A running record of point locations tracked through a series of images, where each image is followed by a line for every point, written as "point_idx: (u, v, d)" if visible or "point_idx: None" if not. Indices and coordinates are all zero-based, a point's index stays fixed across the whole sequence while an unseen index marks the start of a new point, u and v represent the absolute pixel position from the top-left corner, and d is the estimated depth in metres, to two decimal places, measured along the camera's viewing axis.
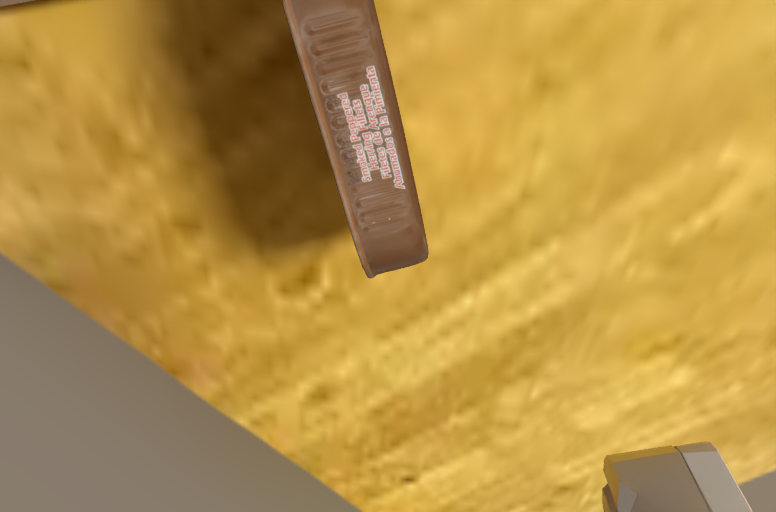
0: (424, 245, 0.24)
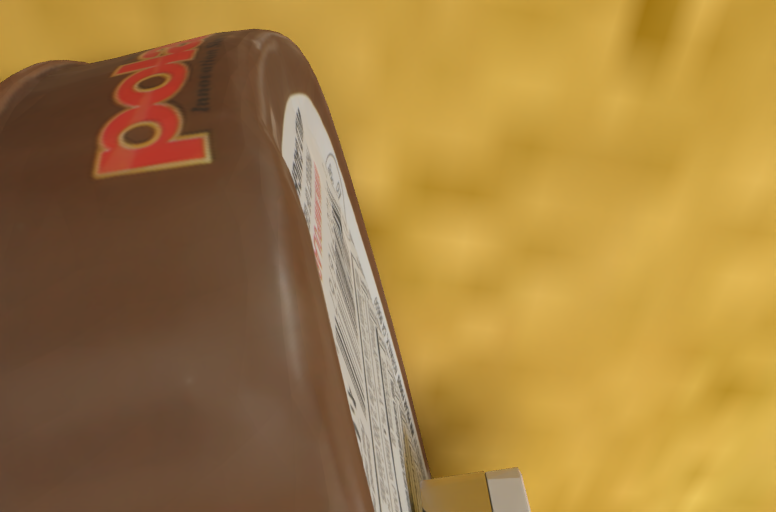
0: None
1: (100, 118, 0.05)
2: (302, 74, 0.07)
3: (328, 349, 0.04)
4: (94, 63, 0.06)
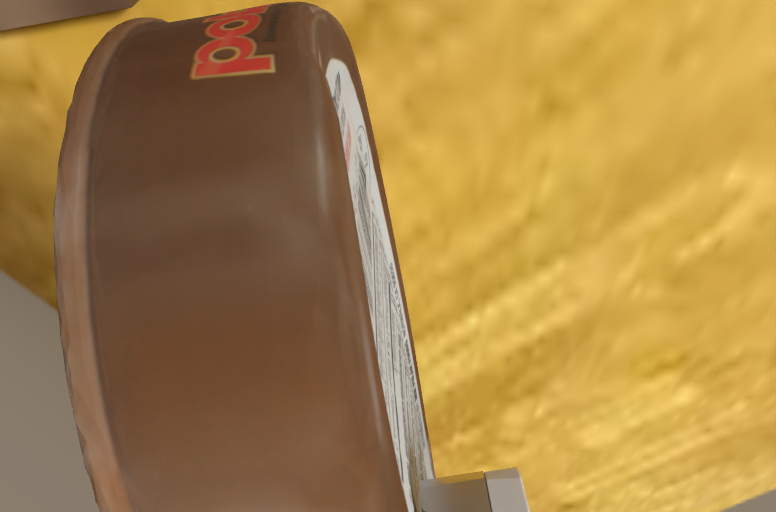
0: None
1: (196, 44, 0.07)
2: (344, 47, 0.09)
3: (348, 200, 0.06)
4: (186, 20, 0.08)
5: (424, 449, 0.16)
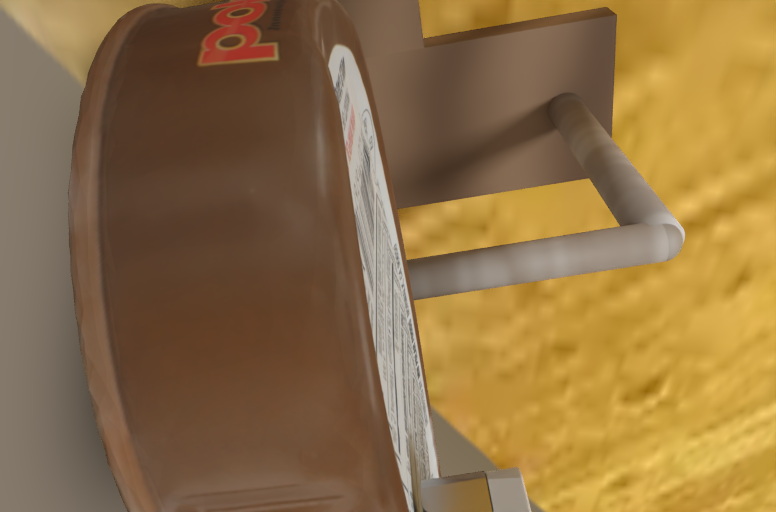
0: None
1: (203, 31, 0.07)
2: (348, 33, 0.09)
3: (345, 184, 0.06)
4: None
5: (426, 426, 0.16)
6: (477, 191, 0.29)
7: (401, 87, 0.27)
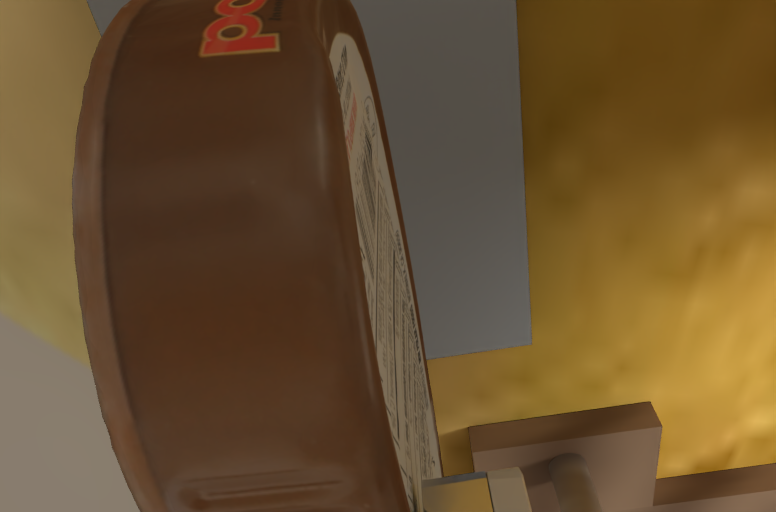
0: None
1: (205, 21, 0.07)
2: (351, 21, 0.09)
3: (345, 175, 0.06)
4: None
5: (427, 410, 0.16)
6: None
7: None
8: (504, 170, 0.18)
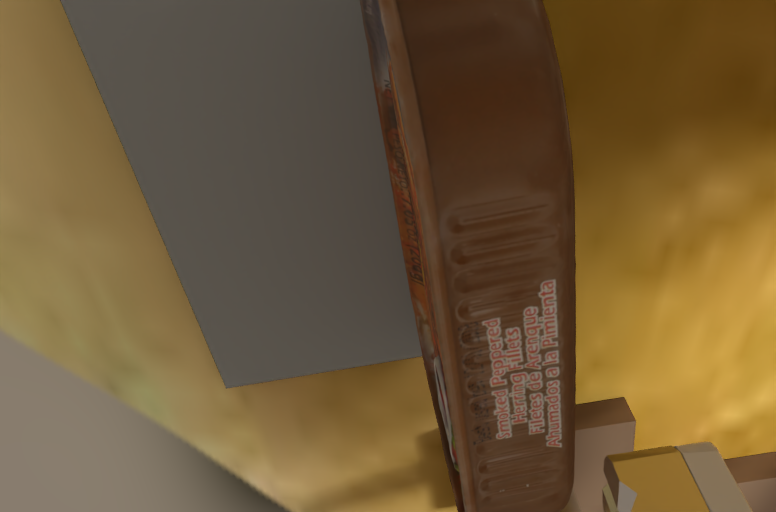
0: None
1: None
2: None
3: (545, 11, 0.10)
4: None
5: None
6: None
7: None
8: None
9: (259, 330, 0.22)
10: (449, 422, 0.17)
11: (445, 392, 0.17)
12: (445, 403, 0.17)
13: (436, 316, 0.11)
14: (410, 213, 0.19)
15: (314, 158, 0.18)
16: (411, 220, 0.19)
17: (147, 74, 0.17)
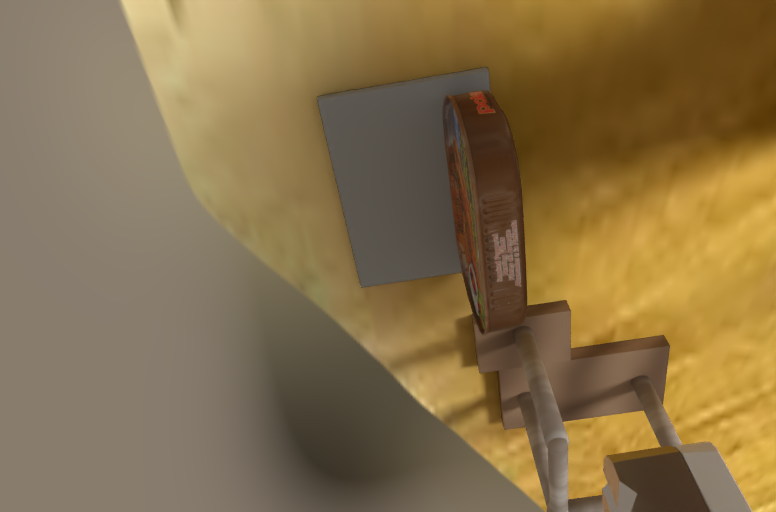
0: (524, 318, 0.38)
1: (475, 105, 0.34)
2: None
3: (512, 136, 0.33)
4: (459, 96, 0.35)
5: None
6: (589, 416, 0.54)
7: (556, 375, 0.51)
8: None
9: (381, 256, 0.45)
10: (477, 289, 0.40)
11: (475, 276, 0.40)
12: (475, 281, 0.40)
13: (477, 232, 0.34)
14: (458, 200, 0.42)
15: (416, 174, 0.41)
16: (458, 203, 0.42)
17: (349, 139, 0.40)
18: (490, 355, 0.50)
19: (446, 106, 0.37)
